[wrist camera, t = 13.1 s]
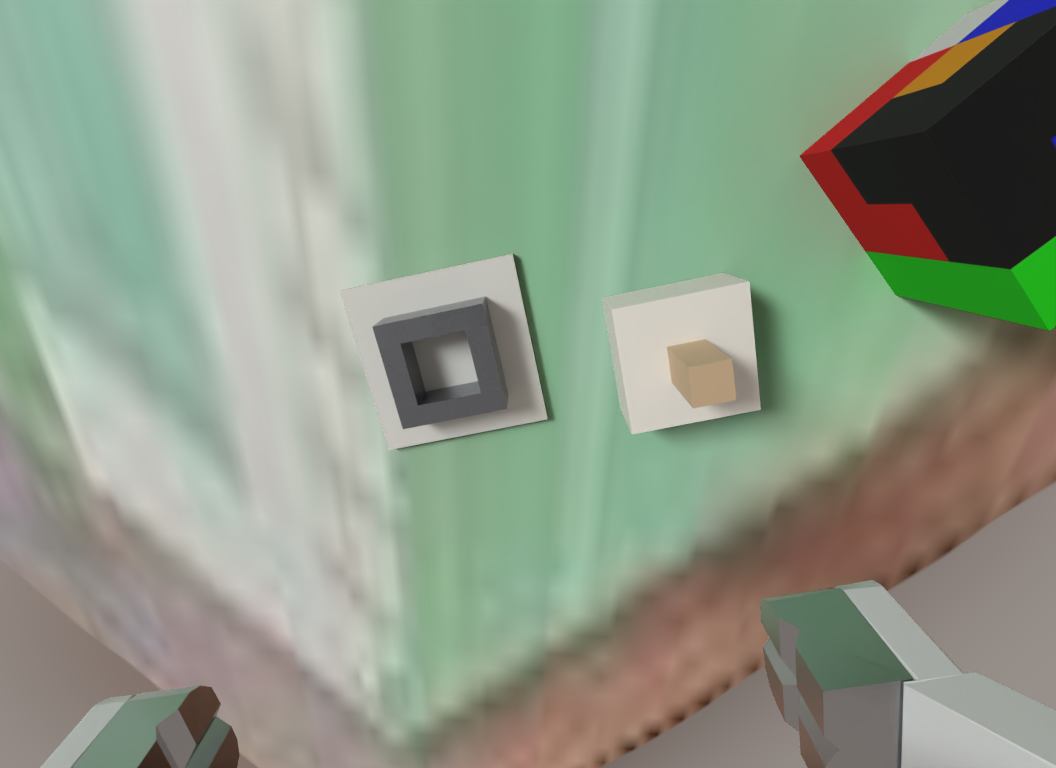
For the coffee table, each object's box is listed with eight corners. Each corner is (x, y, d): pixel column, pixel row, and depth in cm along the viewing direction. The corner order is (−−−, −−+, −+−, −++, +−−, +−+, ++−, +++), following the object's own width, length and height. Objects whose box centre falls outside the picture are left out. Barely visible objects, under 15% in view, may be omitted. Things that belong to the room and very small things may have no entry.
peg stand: (601, 297, 32) (624, 325, 24) (723, 272, 32) (784, 292, 24) (620, 409, 34) (646, 466, 27) (734, 387, 34) (794, 439, 26)
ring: (383, 317, 32) (372, 326, 29) (485, 296, 32) (482, 303, 29) (411, 413, 34) (403, 429, 31) (508, 394, 33) (506, 409, 31)
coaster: (343, 289, 32) (339, 291, 31) (512, 253, 31) (512, 254, 31) (391, 446, 35) (388, 450, 34) (547, 415, 34) (547, 419, 34)
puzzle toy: (966, 13, 28) (1193, -89, 18) (1056, 171, 30) (1301, 154, 21) (798, 156, 30) (924, 131, 20) (895, 295, 32) (1049, 331, 23)
